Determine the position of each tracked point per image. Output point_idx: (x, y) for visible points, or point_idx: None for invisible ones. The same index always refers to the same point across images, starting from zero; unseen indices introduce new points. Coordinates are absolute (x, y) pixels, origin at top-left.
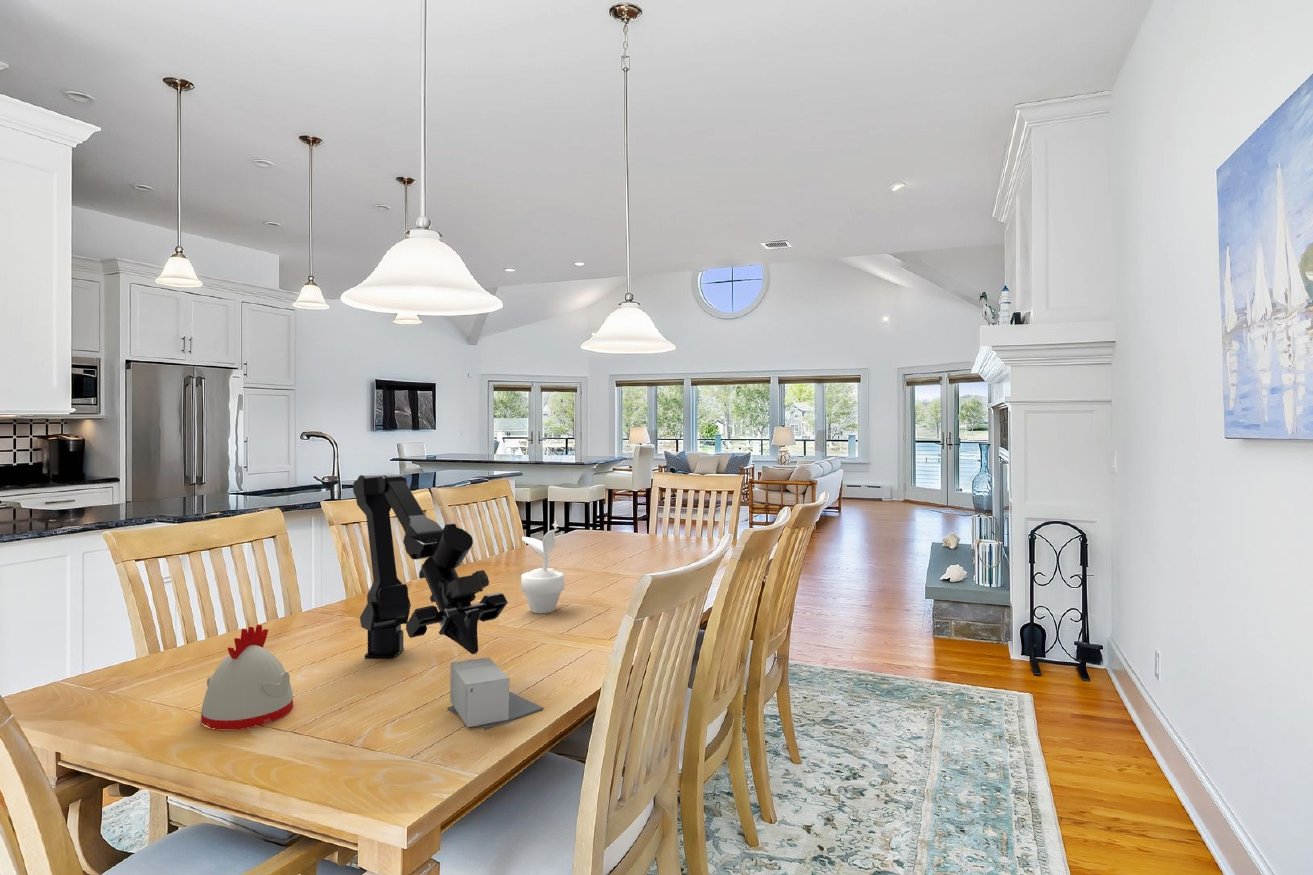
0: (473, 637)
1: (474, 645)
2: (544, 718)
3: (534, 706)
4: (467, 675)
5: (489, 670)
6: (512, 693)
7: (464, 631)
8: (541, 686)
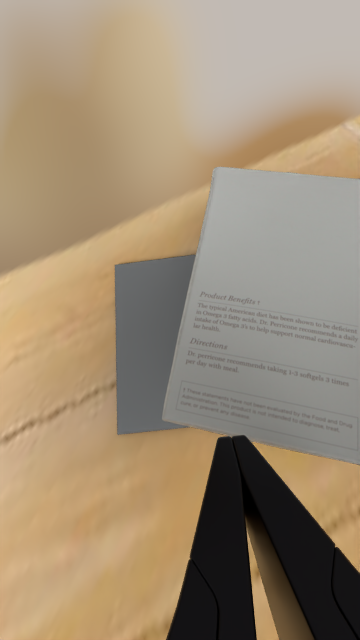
0: (239, 513)
1: (238, 462)
2: (142, 229)
3: (126, 281)
4: (339, 249)
5: (243, 251)
6: (118, 390)
7: (348, 597)
8: (23, 398)
